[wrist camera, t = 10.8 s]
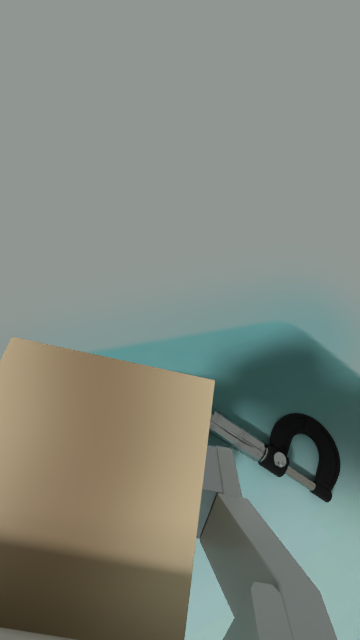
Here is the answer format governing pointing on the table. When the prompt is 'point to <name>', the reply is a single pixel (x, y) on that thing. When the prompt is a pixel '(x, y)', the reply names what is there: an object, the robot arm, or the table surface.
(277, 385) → the table surface
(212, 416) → the micrometer
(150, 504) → the oak block
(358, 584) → the table surface
